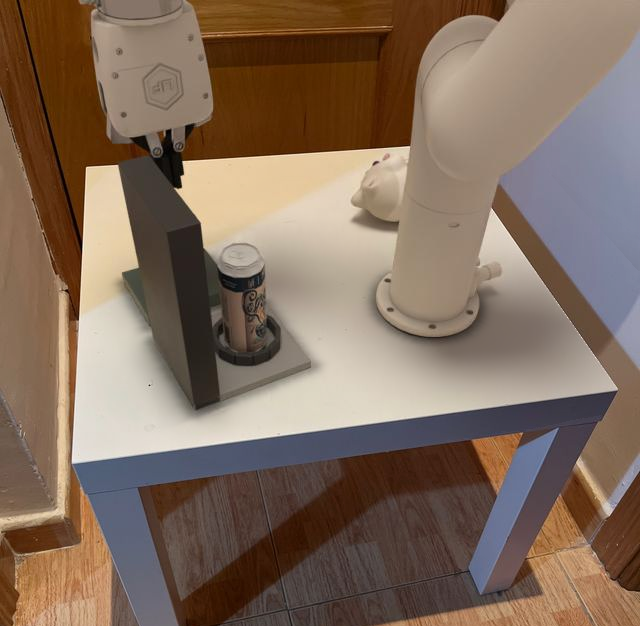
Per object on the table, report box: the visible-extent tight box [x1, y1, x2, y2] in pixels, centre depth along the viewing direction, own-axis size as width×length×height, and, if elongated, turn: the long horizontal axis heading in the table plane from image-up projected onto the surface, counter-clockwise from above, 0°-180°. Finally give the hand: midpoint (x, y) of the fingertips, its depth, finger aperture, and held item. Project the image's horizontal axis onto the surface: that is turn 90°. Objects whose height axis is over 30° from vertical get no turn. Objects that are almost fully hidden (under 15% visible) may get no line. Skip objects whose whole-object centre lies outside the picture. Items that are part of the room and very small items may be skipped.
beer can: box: [216, 242, 267, 353], centre depth 73 cm, size 5×5×12 cm
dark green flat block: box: [121, 248, 221, 328], centre depth 83 cm, size 11×9×4 cm
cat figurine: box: [350, 152, 409, 223], centre depth 94 cm, size 10×8×15 cm
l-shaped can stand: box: [117, 154, 312, 412], centre depth 69 cm, size 14×12×22 cm
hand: (170, 183), depth 74 cm, fingers closed
